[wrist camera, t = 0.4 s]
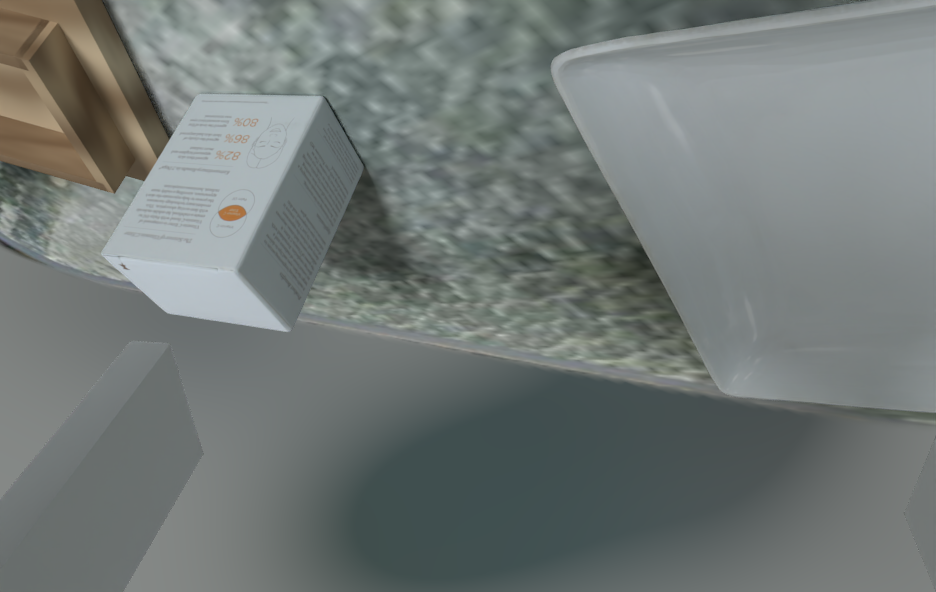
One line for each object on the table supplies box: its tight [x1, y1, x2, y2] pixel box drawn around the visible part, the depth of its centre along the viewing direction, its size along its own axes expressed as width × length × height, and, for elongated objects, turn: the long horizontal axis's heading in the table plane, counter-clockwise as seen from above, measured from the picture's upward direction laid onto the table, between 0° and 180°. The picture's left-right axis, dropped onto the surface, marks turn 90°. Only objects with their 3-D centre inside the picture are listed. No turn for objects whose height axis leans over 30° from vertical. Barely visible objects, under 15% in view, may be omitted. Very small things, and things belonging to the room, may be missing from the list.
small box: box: [102, 94, 364, 332], centre depth 39 cm, size 8×6×10 cm
